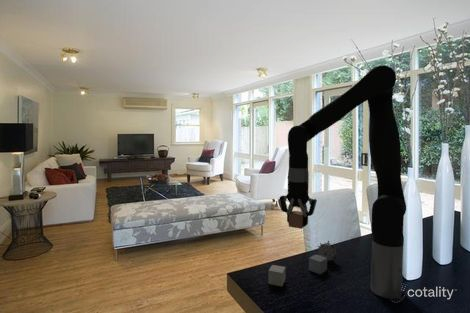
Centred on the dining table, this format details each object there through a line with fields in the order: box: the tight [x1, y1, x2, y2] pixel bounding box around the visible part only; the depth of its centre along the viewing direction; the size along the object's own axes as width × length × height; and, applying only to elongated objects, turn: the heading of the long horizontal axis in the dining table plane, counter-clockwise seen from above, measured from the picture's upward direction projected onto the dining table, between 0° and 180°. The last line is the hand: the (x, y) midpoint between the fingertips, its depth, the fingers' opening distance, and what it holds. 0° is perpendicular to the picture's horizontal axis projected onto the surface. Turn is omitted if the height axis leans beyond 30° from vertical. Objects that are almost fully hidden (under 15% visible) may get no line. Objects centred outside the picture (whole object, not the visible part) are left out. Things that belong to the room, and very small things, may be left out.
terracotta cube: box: [288, 209, 305, 230], centre depth 109 cm, size 5×5×5 cm
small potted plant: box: [315, 240, 339, 263], centre depth 123 cm, size 9×8×10 cm
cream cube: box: [267, 264, 287, 287], centre depth 105 cm, size 5×5×5 cm
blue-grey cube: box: [308, 253, 328, 275], centre depth 115 cm, size 5×5×5 cm
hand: (297, 224), depth 110 cm, fingers closed on terracotta cube, 5 cm apart
